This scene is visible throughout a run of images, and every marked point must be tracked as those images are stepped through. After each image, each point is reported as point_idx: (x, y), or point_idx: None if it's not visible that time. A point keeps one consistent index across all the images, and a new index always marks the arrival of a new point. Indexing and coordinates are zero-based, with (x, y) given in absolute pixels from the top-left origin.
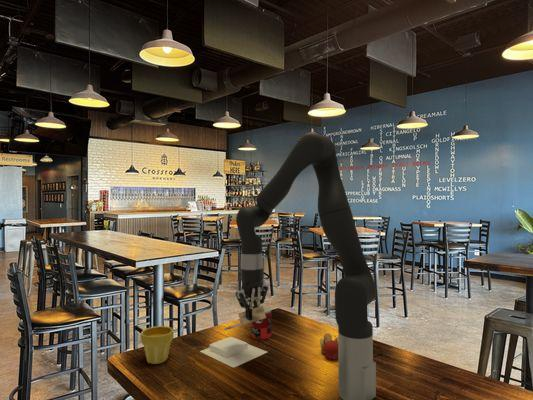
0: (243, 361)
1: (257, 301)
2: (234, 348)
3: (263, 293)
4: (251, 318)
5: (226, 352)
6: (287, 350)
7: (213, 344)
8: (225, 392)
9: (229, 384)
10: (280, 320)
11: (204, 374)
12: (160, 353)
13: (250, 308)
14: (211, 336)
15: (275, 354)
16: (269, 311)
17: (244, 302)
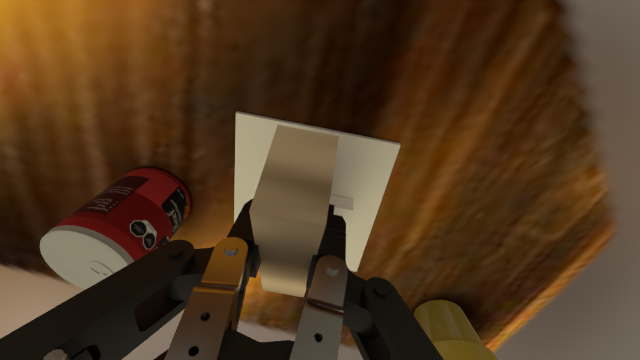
0: (345, 143)
1: (240, 280)
2: None
3: (102, 324)
4: (329, 208)
5: (351, 208)
6: (166, 60)
7: None
8: (559, 71)
9: (501, 93)
10: (18, 211)
11: (465, 193)
12: (465, 323)
13: (336, 262)
14: (259, 294)
15: (225, 82)
16: (68, 229)
17: (416, 340)
